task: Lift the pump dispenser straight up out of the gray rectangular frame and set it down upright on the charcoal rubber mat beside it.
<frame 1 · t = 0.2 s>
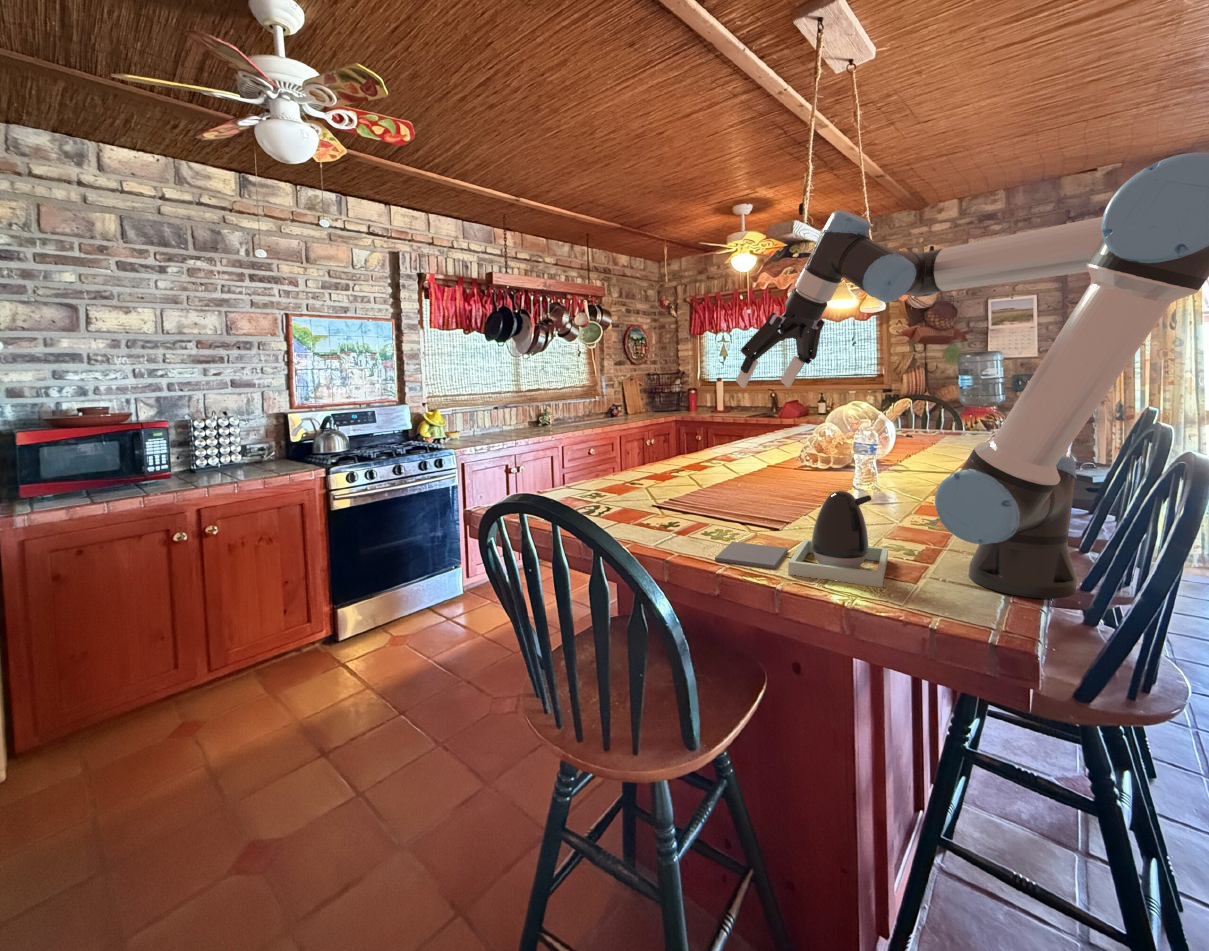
hand: (763, 384, 125), 35 cm above the countertop, tool tilted 35°, fingers open, 13 cm apart
mat: (751, 556, 118), on the countertop
gray rectangular frame: (839, 567, 109), on the countertop
pump dispenser: (839, 568, 109), resting in gray rectangular frame
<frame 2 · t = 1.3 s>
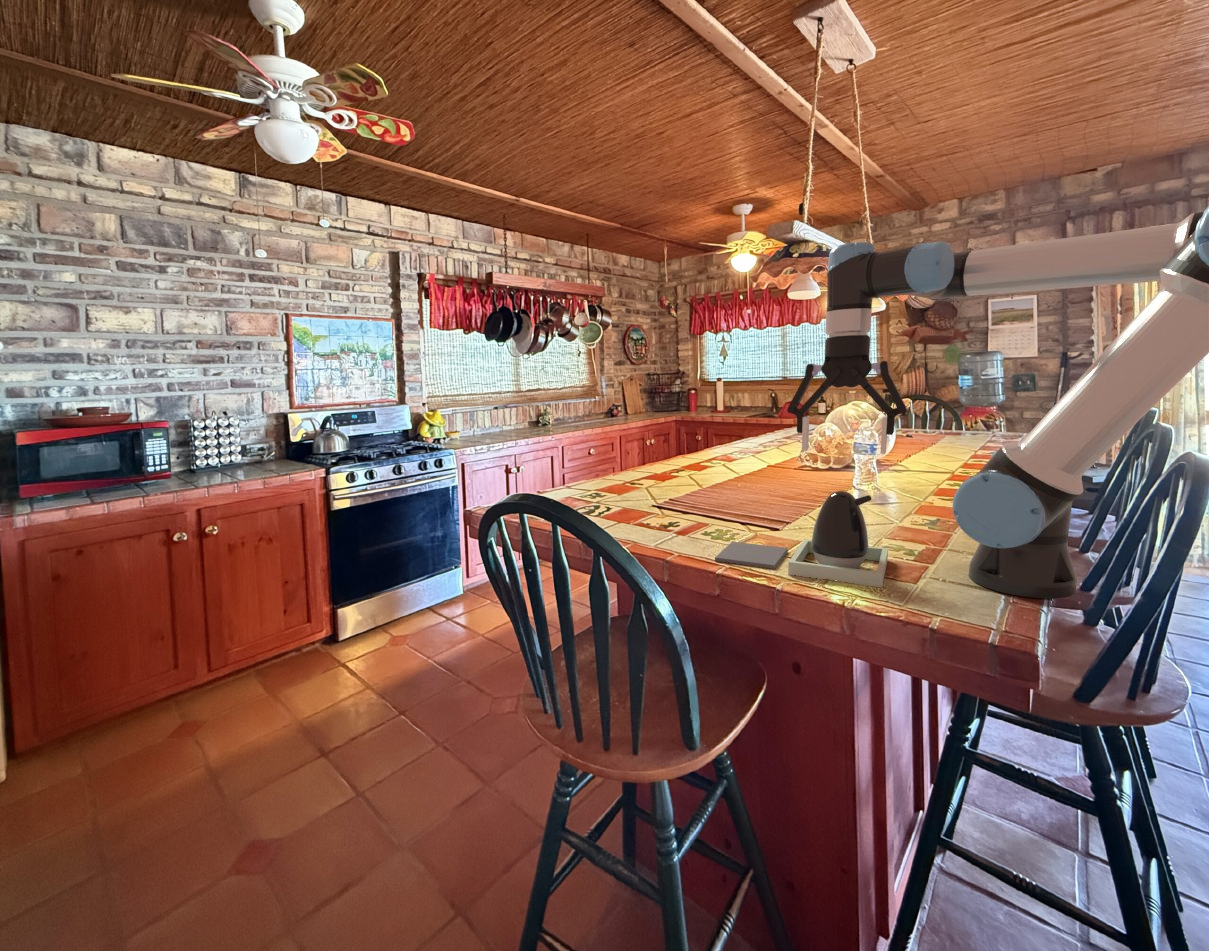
hand: (842, 451, 106), 23 cm above the countertop, tool pointing down, fingers open, 13 cm apart
nothing on the countertop moved.
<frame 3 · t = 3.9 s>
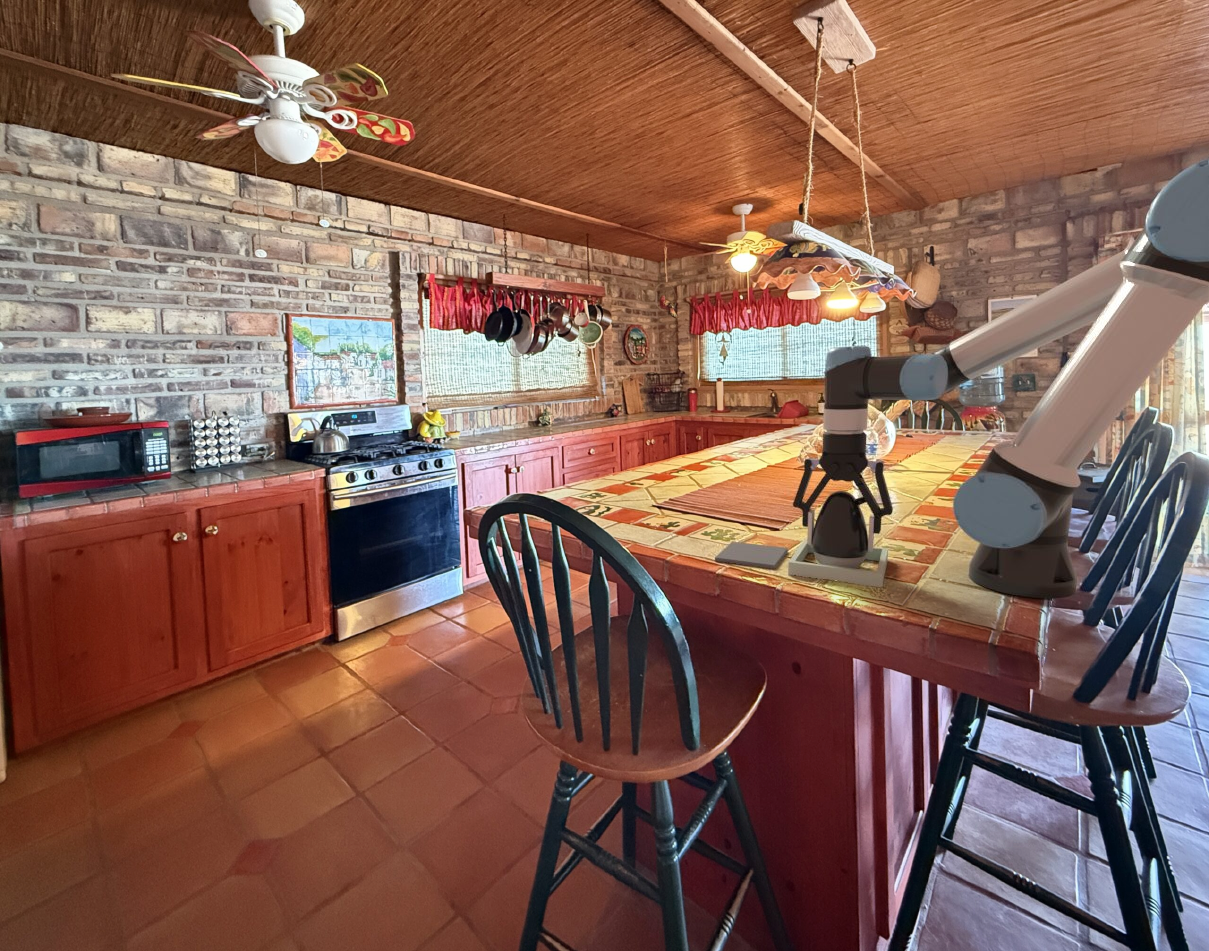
hand: (839, 546, 109), 4 cm above the countertop, tool pointing down, fingers closed on pump dispenser, 10 cm apart
pump dispenser: (839, 568, 109), resting in gray rectangular frame, touching gripper
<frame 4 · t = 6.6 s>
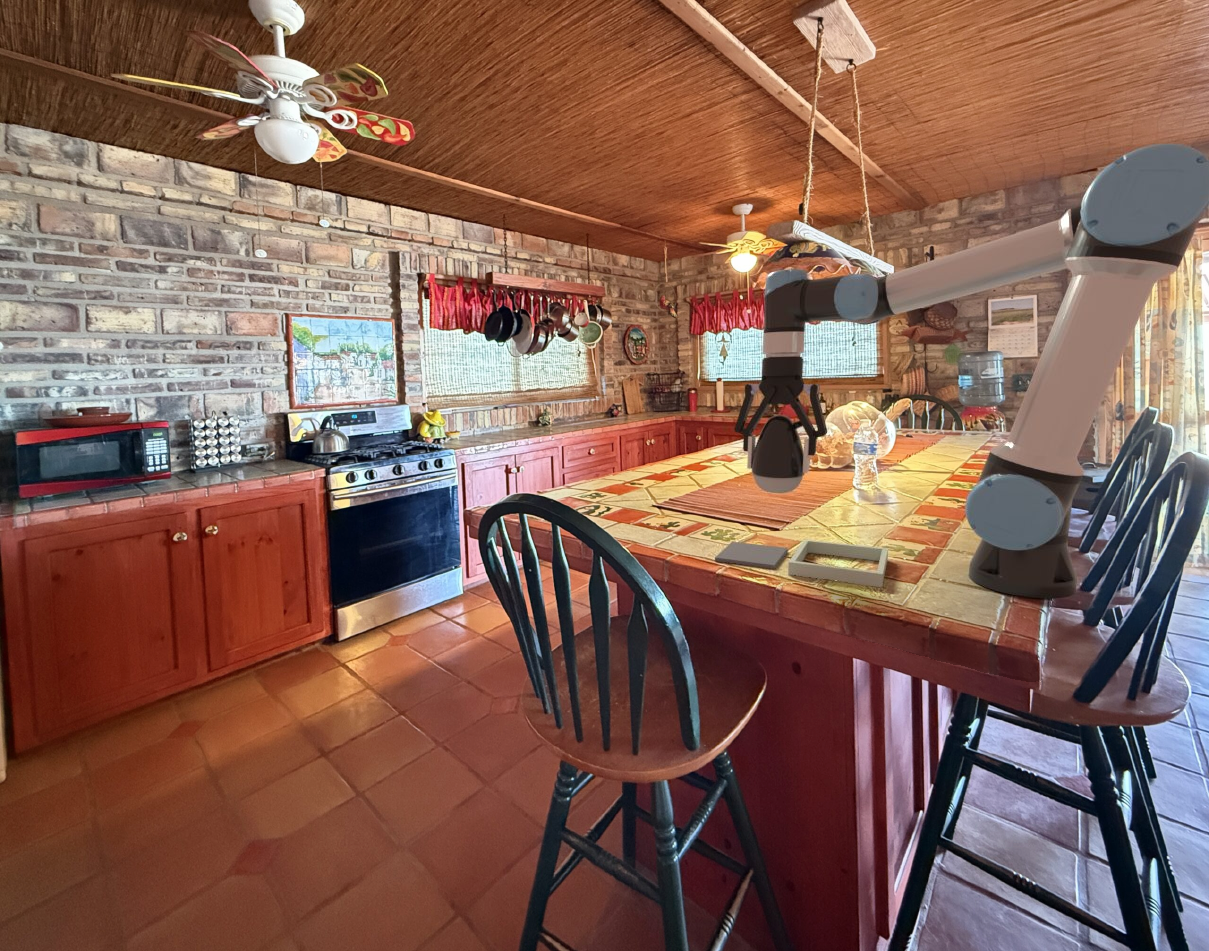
hand: (777, 469, 112), 19 cm above the countertop, tool pointing down, fingers closed on pump dispenser, 10 cm apart
pump dispenser: (777, 491, 113), point 14 cm above the countertop, touching gripper
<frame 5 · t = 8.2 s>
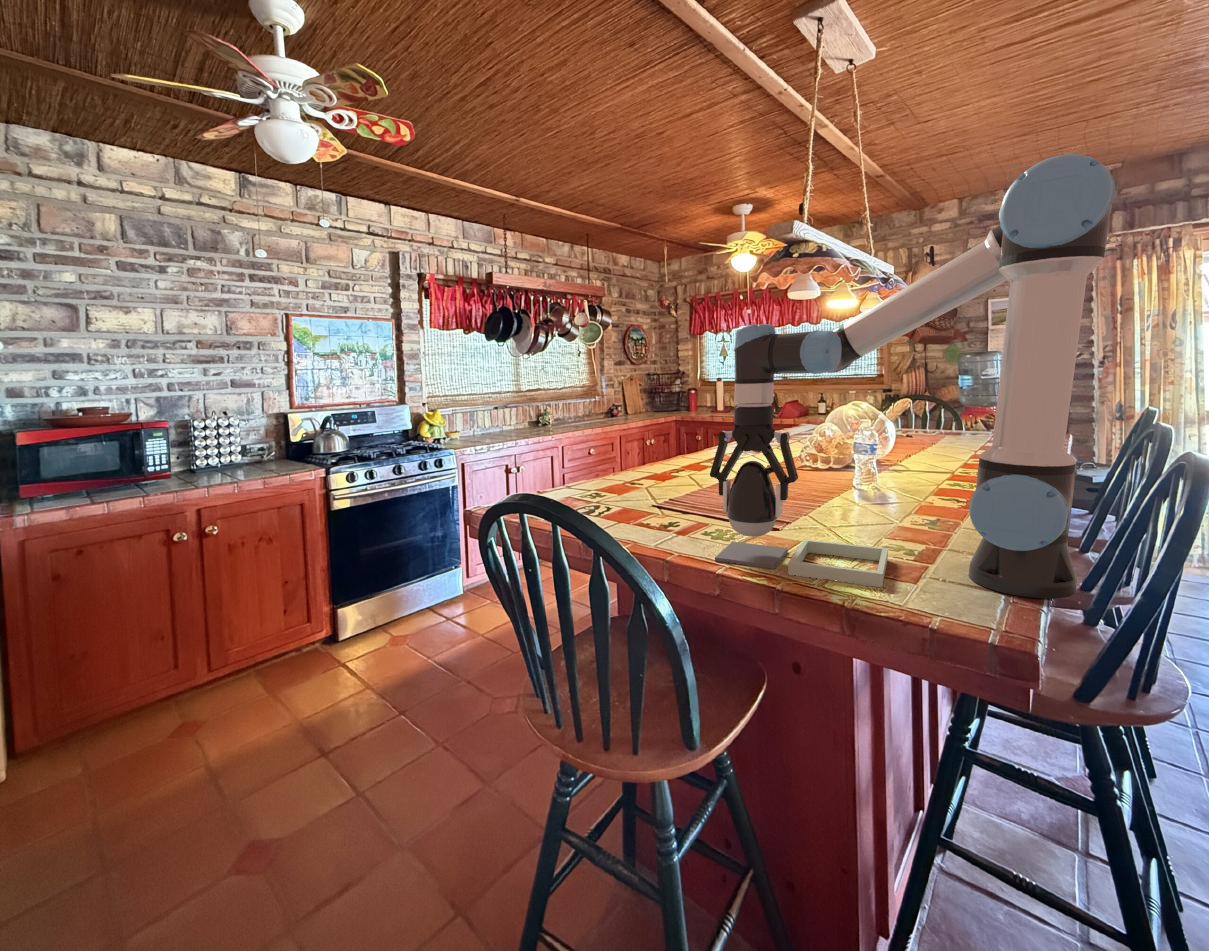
hand: (752, 513, 116), 9 cm above the countertop, tool pointing down, fingers closed on pump dispenser, 10 cm apart
pump dispenser: (752, 534, 117), point 5 cm above the countertop, touching gripper
when the fingers open (6 cm above the countertop, at t = 9.6 s): pump dispenser drops 1 cm, resting on mat.
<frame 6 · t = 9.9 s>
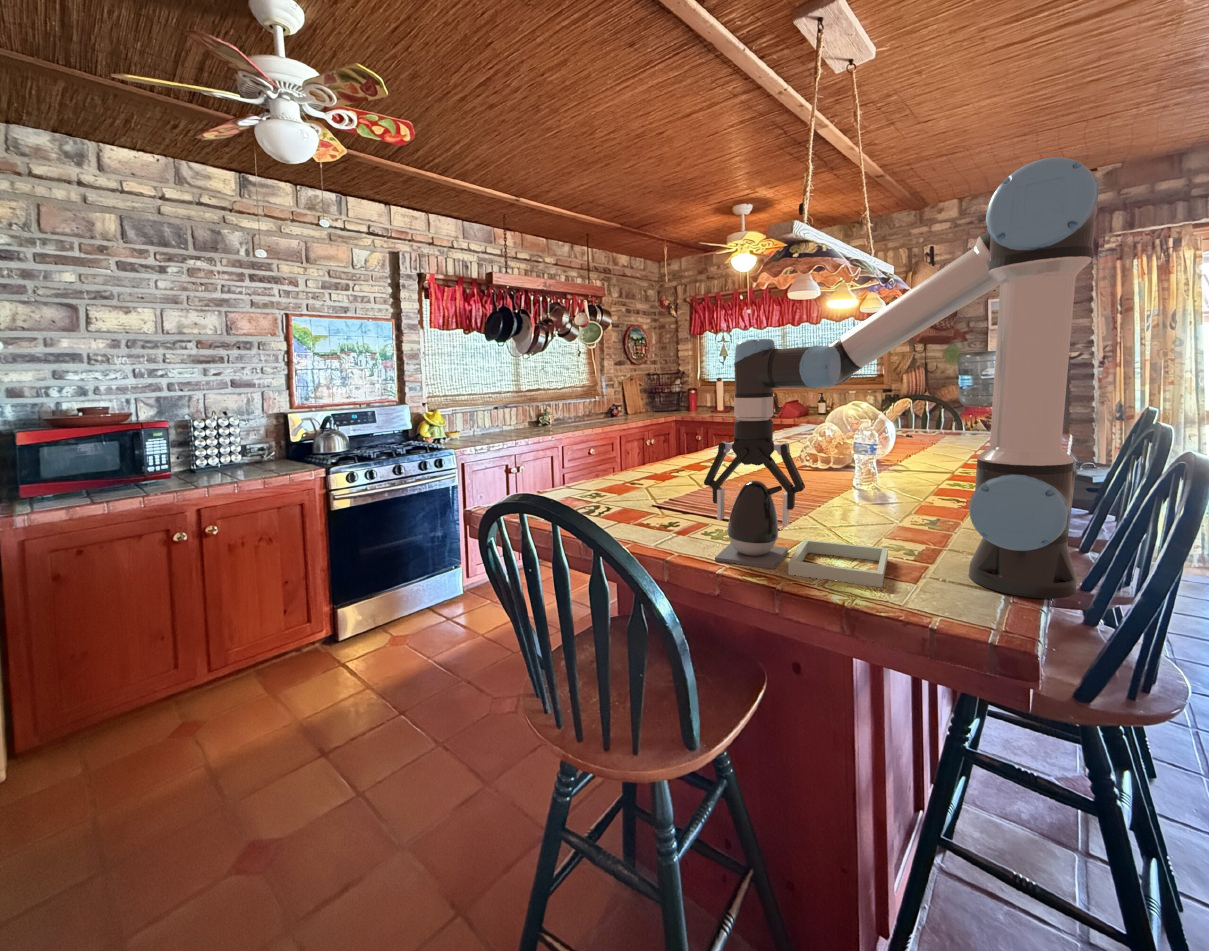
hand: (752, 521, 116), 7 cm above the countertop, tool pointing down, fingers open, 13 cm apart
pump dispenser: (751, 552, 117), point 1 cm above the countertop, touching mat
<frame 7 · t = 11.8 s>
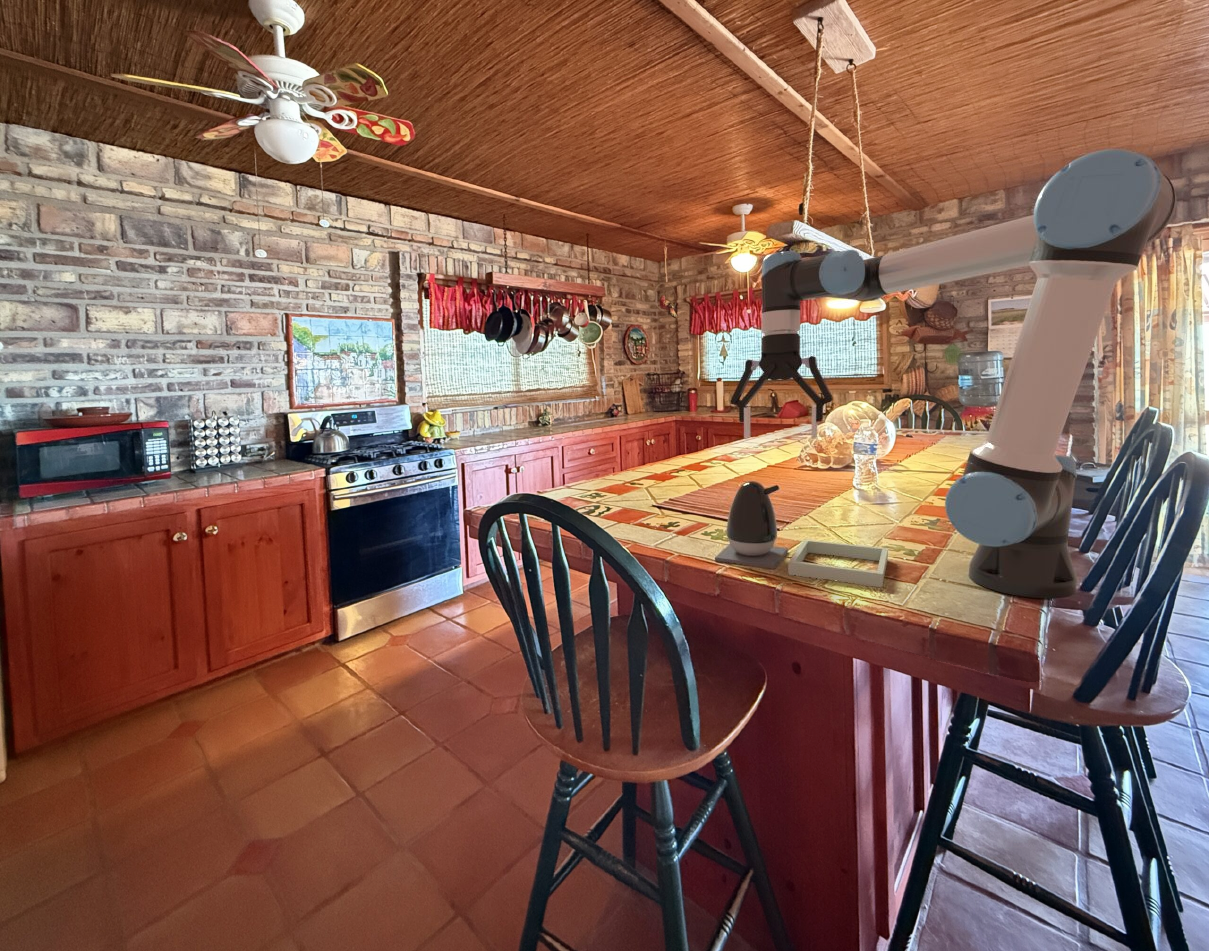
hand: (779, 438, 118), 24 cm above the countertop, tool pointing down, fingers open, 13 cm apart
nothing on the countertop moved.
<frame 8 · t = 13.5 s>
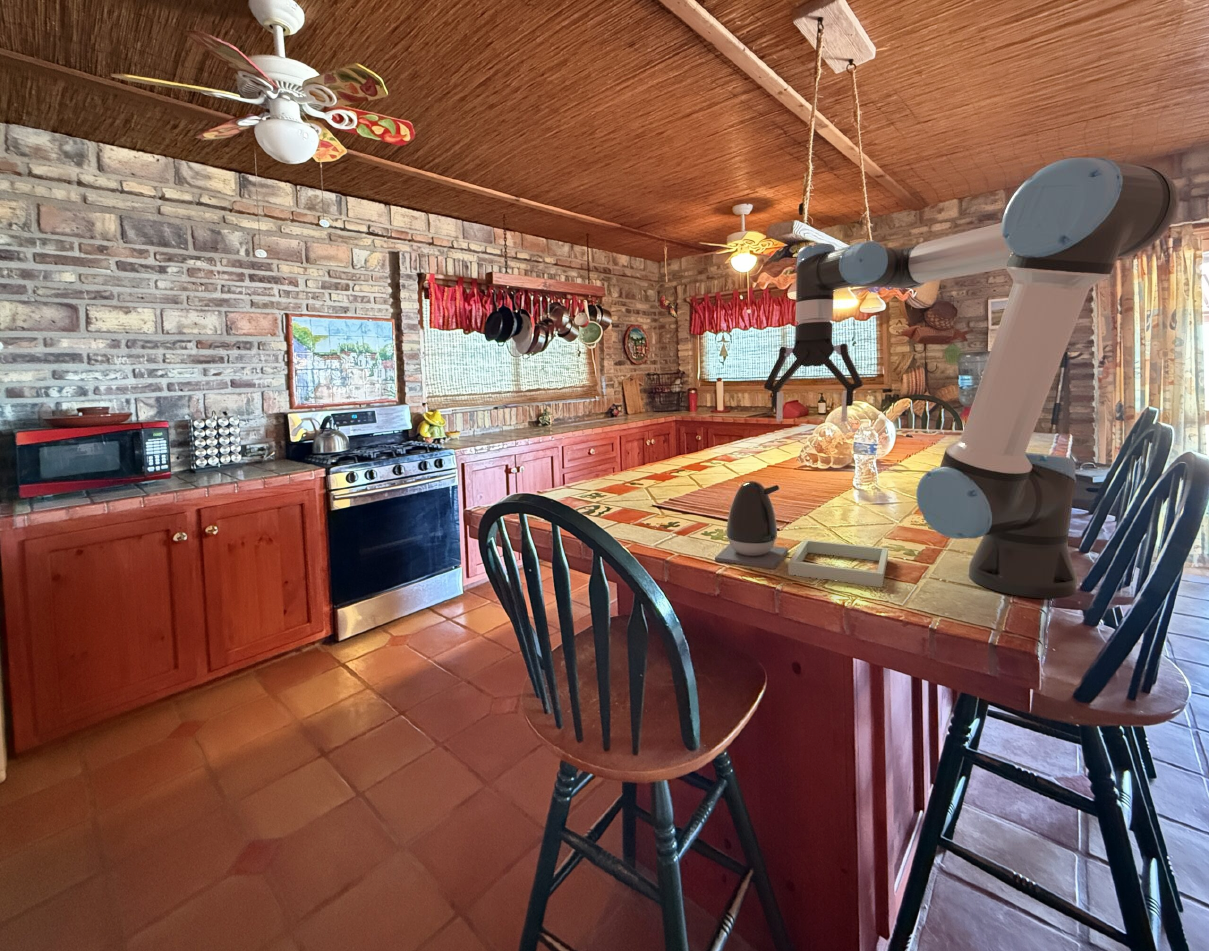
hand: (810, 421, 124), 27 cm above the countertop, tool pointing down, fingers open, 13 cm apart
nothing on the countertop moved.
at the end: pump dispenser inside the target area on the mat (0.0 cm from its centre), point 0.6 cm above the mat's base; pump dispenser tilted 0°; the gripper is holding nothing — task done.
